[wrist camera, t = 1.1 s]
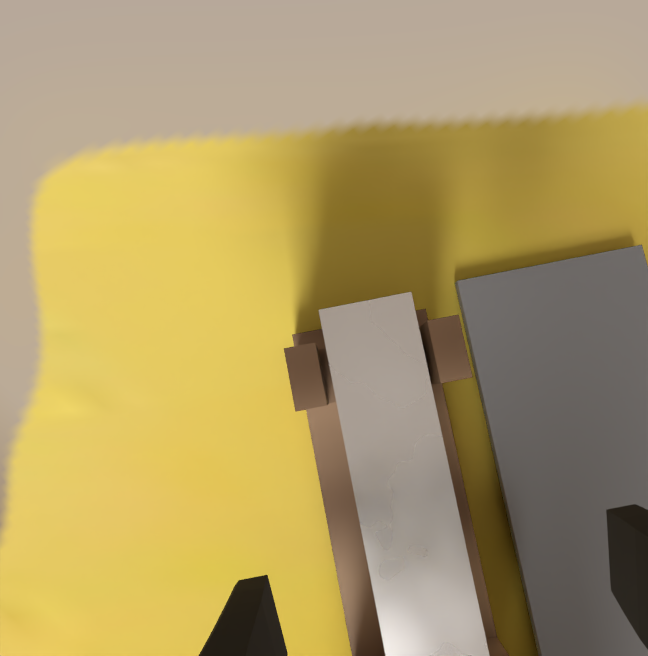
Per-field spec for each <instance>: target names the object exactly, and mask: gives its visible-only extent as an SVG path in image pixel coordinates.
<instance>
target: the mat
mask: <svg viewBox="0 0 648 656" xmlns="http://www.w3.org/2000/svg"><path fill="white" fill-rule="evenodd" d="M455 286H456V291H457V295H458V300H459V304H460V309H461V313H462V317H463V322H464V326H465V331H466V335H467V340H468V344H469V349H470V353H471V357H472V362H473V366H474V371H475V375H476V380H477V384H478V389H479V393H480V397H481V402H482V406H483V411H484V415H485V420H486V424H487V429H488V433H489V437H490V442H491V446H492V451H493V455H494V460H495V464H496V469H497V473H498V477H499V482H500V486H501V491H502V495H503V500H504V504H505V508H506V513H507V517H508V522H509V526H510V531H511V535H512V540H513V544H514V548H515V553H516V557H517V562H518V566H519V571H520V575H521V580H522V584H523V588H524V593H525V597H526V602H527V606H528V611H529V615H530V620H531V624H532V628H533V633H534V637H535V642H536V646H537V651H538V655H539V656H648V649H647V648H646V647H645V645H644V644H643V643H642V641H641V640H640V639H639V637H638V635H637V634H636V632H635V630H634V629H633V627H632V626H631V624H630V622H629V621H628V619H627V617H626V616H625V614H624V612H623V610H622V609H621V607H620V605H619V604H618V602H617V600H616V598H615V597H614V595H613V593H612V591H611V584H610V567H609V549H608V531H607V514H606V509H612V508H617V507H622V506H627V505H632V504H636V505H638V506H641V507H643V508H645V509H647V510H648V266H647V263H646V259H645V255H644V251H643V248H642V245H638V246H633V247H628V248H623V249H618V250H613V251H608V252H603V253H597V254H592V255H587V256H582V257H577V258H572V259H567V260H562V261H556V262H551V263H546V264H541V265H536V266H531V267H526V268H521V269H515V270H510V271H505V272H500V273H495V274H490V275H485V276H480V277H474V278H469V279H464V280H459V281H457V282H455Z"/></svg>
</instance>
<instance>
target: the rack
mask: <svg viewBox="0 0 648 656" xmlns="http://www.w3.org/2000/svg"><path fill="white" fill-rule="evenodd" d="M416 316H417V321H418V325H419V330H420V334H421V339H422V344H423V348H424V353H425V358H426V362H427V367H428V372H429V376H430V381H431V386H432V390H433V395H434V400H435V404H436V409H437V414H438V418H439V423H440V427H441V432H442V437H443V441H444V446H445V451H446V455H447V460H448V465H449V469H450V474H451V479H452V483H453V488H454V493H455V497H456V502H457V507H458V511H459V516H460V520H461V525H462V530H463V534H464V539H465V544H466V548H467V553H468V558H469V562H470V567H471V572H472V576H473V581H474V586H475V590H476V595H477V599H478V604H479V609H480V613H481V618H482V623H483V627H484V632H485V637H486V641H487V646H488V651H489V655H490V656H509V655H508V653H507V652H506V650H505V649H504V647H503V646H502V644H501V643H500V641H499V639H498V638H497V635H496V630H495V626H494V621H493V617H492V612H491V607H490V603H489V598H488V594H487V589H486V584H485V580H484V575H483V571H482V566H481V561H480V557H479V552H478V548H477V543H476V538H475V534H474V529H473V525H472V520H471V515H470V511H469V506H468V502H467V497H466V492H465V488H464V483H463V479H462V474H461V469H460V465H459V460H458V456H457V451H456V446H455V442H454V437H453V433H452V428H451V423H450V419H449V414H448V410H447V405H446V400H445V396H444V391H443V387H442V383H445V382H450V381H455V380H460V379H466V378H471V377H472V373H471V368H470V364H469V359H468V355H467V350H466V346H465V341H464V337H463V333H462V328H461V324H460V319H459V315H454V316H449V317H443V318H438V319H433V320H428V318H427V313H426V309H422V310H417V311H416ZM292 336H293V342H294V347H289V348H284V352H285V357H286V362H287V368H288V373H289V379H290V384H291V389H292V395H293V400H294V406H295V411H301V410H306V411H307V416H308V422H309V427H310V432H311V438H312V443H313V448H314V454H315V459H316V464H317V470H318V475H319V480H320V486H321V491H322V496H323V502H324V507H325V513H326V518H327V523H328V529H329V534H330V539H331V545H332V550H333V555H334V561H335V566H336V571H337V577H338V582H339V587H340V593H341V598H342V603H343V609H344V614H345V619H346V625H347V630H348V635H349V641H350V646H351V651H352V656H385V650H384V645H383V640H382V635H381V630H380V625H379V620H378V614H377V609H376V604H375V599H374V594H373V589H372V583H371V578H370V573H369V568H368V563H367V558H366V553H365V547H364V542H363V537H362V532H361V527H360V522H359V516H358V511H357V506H356V501H355V496H354V491H353V485H352V480H351V475H350V470H349V465H348V460H347V455H346V449H345V444H344V439H343V434H342V429H341V424H340V418H339V413H338V408H337V403H336V398H335V393H334V388H333V382H332V377H331V372H330V367H329V362H328V357H327V351H326V346H325V341H324V336H323V331H322V329H319V330H314V331H309V332H304V333H299V334H294V335H292Z"/></svg>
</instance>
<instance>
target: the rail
mask: <svg viewBox="0 0 648 656" xmlns="http://www.w3.org/2000/svg"><path fill="white" fill-rule="evenodd" d="M319 315H320V320H321V326H322V331H323V336H324V341H325V346H326V351H327V357H328V362H329V367H330V372H331V377H332V382H333V388H334V393H335V398H336V403H337V408H338V413H339V418H340V424H341V429H342V434H343V439H344V444H345V449H346V455H347V460H348V465H349V470H350V475H351V480H352V485H353V491H354V496H355V501H356V506H357V511H358V516H359V522H360V527H361V532H362V537H363V542H364V547H365V553H366V558H367V563H368V568H369V573H370V578H371V583H372V589H373V594H374V599H375V604H376V609H377V614H378V620H379V625H380V630H381V635H382V640H383V645H384V650H385V656H490V655H489V651H488V646H487V641H486V637H485V632H484V627H483V623H482V618H481V613H480V609H479V604H478V599H477V595H476V590H475V586H474V581H473V576H472V572H471V567H470V562H469V558H468V553H467V548H466V544H465V539H464V534H463V530H462V525H461V520H460V516H459V511H458V507H457V502H456V497H455V493H454V488H453V483H452V479H451V474H450V469H449V465H448V460H447V455H446V451H445V446H444V441H443V437H442V432H441V427H440V423H439V418H438V414H437V409H436V404H435V400H434V395H433V390H432V386H431V381H430V376H429V372H428V367H427V362H426V358H425V353H424V348H423V344H422V339H421V334H420V330H419V325H418V321H417V316H416V311H415V307H414V302H413V297H412V293H411V292H407V293H402V294H397V295H392V296H387V297H382V298H377V299H372V300H366V301H361V302H356V303H351V304H346V305H341V306H336V307H331V308H325V309H320V310H319Z"/></svg>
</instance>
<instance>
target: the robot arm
mask: <svg viewBox="0 0 648 656" xmlns="http://www.w3.org/2000/svg"><path fill="white" fill-rule="evenodd" d="M606 514H607V531H608V549H609V567H610V584H611V591H612V593H613V595H614V597H615V598H616V600H617V602H618V604H619V605H620V607H621V609H622V610H623V612H624V614H625V616H626V617H627V619H628V621H629V622H630V624H631V626H632V627H633V629H634V630H635V632H636V634H637V635H638V637H639V639H640V640H641V641H642V643H643V644H644V645H645V647H646V648H647V649H648V510H647V509H645V508H643V507H641V506H638V505H636V504H632V505H627V506H622V507H617V508H612V509H606ZM199 656H287V649H286V646H285V642H284V638H283V634H282V630H281V626H280V622H279V618H278V615H277V611H276V607H275V603H274V599H273V595H272V591H271V587H270V584H269V580H268V576H267V575H264V576H259V577H254V578H249V579H244V580H239V581H238V582H237V584H236V585H235V587H234V589H233V591H232V593H231V595H230V597H229V599H228V601H227V603H226V605H225V607H224V609H223V611H222V613H221V615H220V617H219V619H218V621H217V623H216V625H215V627H214V629H213V631H212V632H211V634H210V636H209V638H208V640H207V642H206V643H205V645H204V647H203V649H202V651H201V652H200V654H199Z"/></svg>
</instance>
